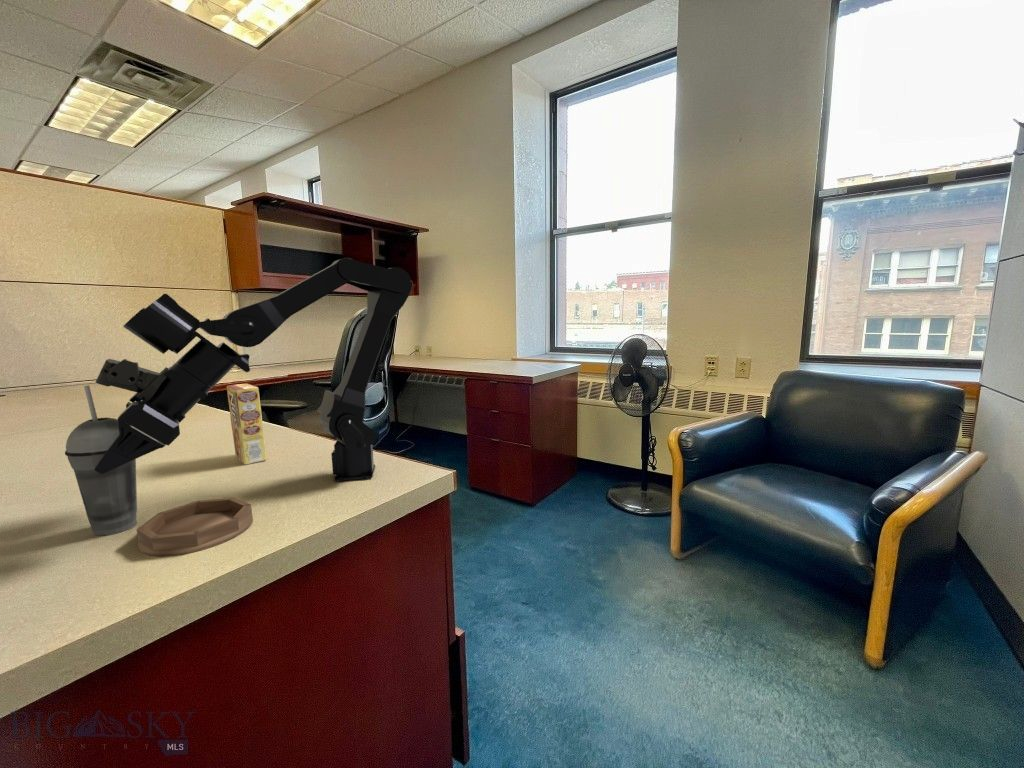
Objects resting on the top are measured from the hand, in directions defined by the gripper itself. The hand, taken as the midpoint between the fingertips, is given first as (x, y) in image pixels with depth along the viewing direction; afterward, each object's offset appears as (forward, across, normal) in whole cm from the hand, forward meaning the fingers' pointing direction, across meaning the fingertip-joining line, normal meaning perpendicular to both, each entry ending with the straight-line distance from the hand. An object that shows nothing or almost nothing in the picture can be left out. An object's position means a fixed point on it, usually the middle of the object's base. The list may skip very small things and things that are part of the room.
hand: (102, 462), depth 59 cm
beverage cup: (+7, 0, +7) cm, 10 cm away
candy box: (-7, -24, +20) cm, 32 cm away
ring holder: (0, +9, +13) cm, 16 cm away
